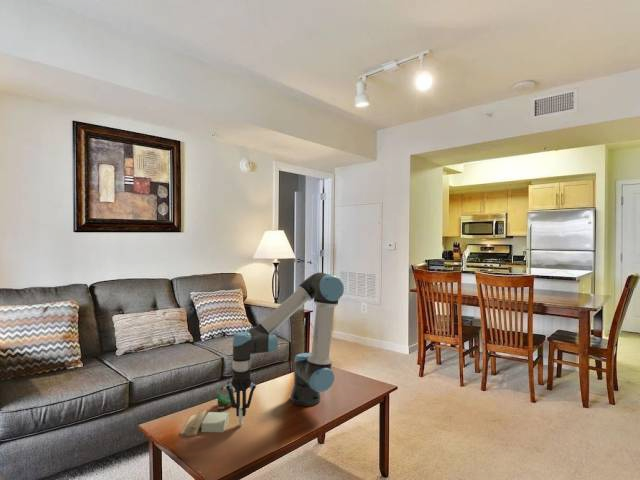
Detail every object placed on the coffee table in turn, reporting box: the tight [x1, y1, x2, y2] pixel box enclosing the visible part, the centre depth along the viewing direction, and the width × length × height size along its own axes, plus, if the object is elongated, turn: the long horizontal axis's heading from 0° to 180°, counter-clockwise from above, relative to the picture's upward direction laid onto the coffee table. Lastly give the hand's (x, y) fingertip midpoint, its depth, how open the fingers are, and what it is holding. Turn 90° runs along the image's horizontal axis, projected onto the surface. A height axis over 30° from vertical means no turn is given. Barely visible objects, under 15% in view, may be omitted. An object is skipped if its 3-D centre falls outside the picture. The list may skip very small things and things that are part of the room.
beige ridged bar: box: [179, 408, 208, 437], centre depth 164 cm, size 6×16×4 cm, turn 2°
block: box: [200, 411, 230, 433], centre depth 164 cm, size 9×10×4 cm
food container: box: [216, 380, 236, 411], centre depth 183 cm, size 12×6×10 cm, turn 168°
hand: (241, 423), depth 165 cm, fingers closed
